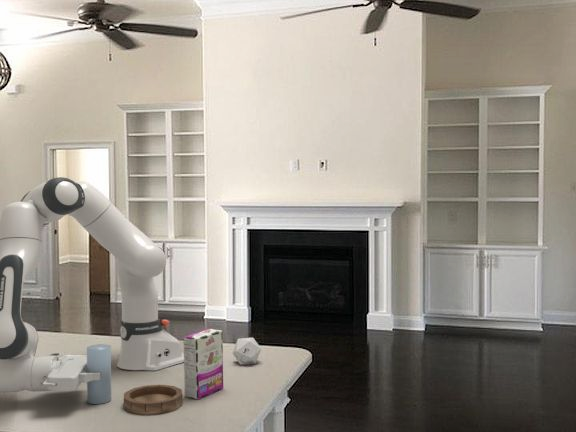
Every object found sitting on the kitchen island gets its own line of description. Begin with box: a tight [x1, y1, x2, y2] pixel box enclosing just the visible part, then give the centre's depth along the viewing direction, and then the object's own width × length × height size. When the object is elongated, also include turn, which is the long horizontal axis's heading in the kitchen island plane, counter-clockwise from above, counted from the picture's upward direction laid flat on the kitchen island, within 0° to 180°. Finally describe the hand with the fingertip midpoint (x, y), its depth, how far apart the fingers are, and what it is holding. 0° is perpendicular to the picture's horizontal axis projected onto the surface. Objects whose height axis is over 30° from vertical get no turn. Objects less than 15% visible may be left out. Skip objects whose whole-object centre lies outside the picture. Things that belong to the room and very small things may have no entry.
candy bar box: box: [183, 328, 224, 400], centre depth 171 cm, size 11×5×16 cm, turn 148°
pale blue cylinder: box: [86, 343, 112, 405], centre depth 165 cm, size 6×6×14 cm
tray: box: [123, 384, 184, 416], centre depth 162 cm, size 15×15×3 cm
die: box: [232, 337, 262, 366], centre depth 201 cm, size 8×9×10 cm
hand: (102, 371), depth 165 cm, fingers closed on pale blue cylinder, 6 cm apart
